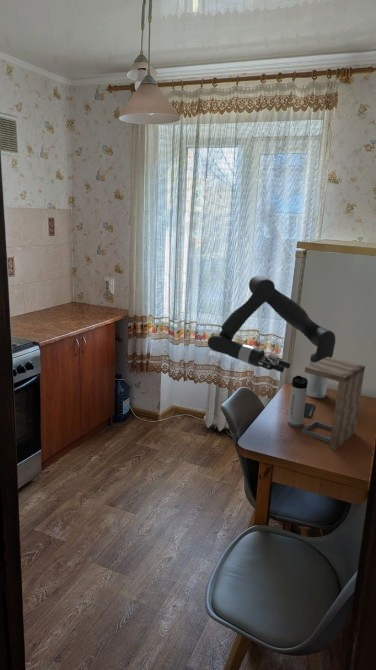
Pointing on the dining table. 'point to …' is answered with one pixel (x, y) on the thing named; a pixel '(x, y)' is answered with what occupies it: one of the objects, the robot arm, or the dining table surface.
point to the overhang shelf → (342, 395)
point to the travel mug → (297, 401)
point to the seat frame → (315, 435)
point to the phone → (308, 410)
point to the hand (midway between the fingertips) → (286, 368)
